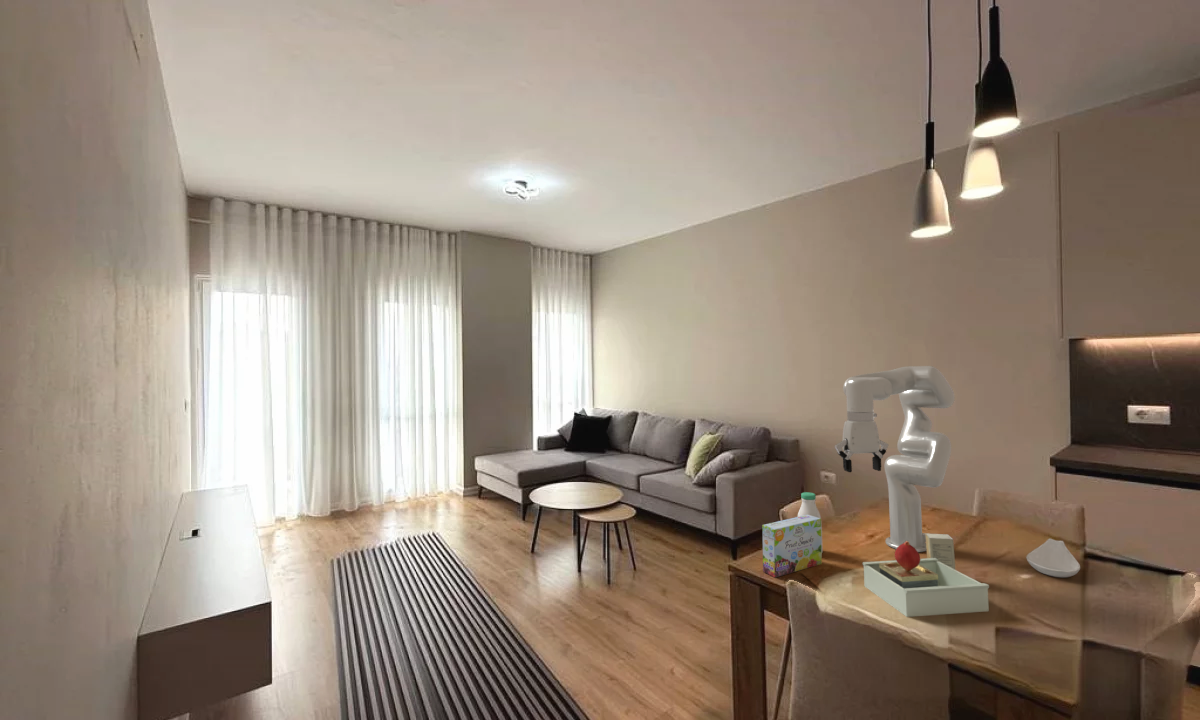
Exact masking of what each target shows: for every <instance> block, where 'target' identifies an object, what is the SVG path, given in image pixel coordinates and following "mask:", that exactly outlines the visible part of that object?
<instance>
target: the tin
mask: <svg viewBox="0 0 1200 720" xmlns="http://www.w3.org/2000/svg"><path fill="white" fill-rule="evenodd" d="M879 568H880V573H881V574H882V575H884V576H885V577H887V578H888V579H890V580H891V581H893V582H895V583H896V584H898V585H899V586H901V587H902V588H904V589H905V588H920V587H935V586H938V574H936V573H934V572H932V571H931V570H929V569H927V568H925V567H923V566H922V565H920V564H918V566H916V567H915V568H913V569H912V570H911V571H907V570H905V569H904V568H903V567H902V566H901V565H900V564H899V563H898V562H887V563H879Z"/></svg>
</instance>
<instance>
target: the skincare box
mask: <svg viewBox="0 0 1200 720" xmlns="http://www.w3.org/2000/svg"><path fill="white" fill-rule="evenodd" d="M925 534H926V549H927V551H926V558H936V559H938V561H939V562H941V563H943V564H945V565H947V566H949V567H951V568H953V569H955V570H956V561H955V545H954V543H955V542H954V538H952V536H950V535H949V534H945V533H943V534H942V533H927V532H926V533H925Z"/></svg>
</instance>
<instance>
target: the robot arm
mask: <svg viewBox="0 0 1200 720" xmlns="http://www.w3.org/2000/svg"><path fill="white" fill-rule="evenodd" d="M842 391H843V393H844V396H846V419H847V420H845V421H844V423H843V429H842V440H841V441H840V442H838V443H837V444H835V445H834V448H835V450H836V454H838V455H839V456H840V457H841V459H842V466H843V470H844V471H845V472H847V473H852V472H853V471H852V470H853V468H852V467H853V465H852V464H853V463H852V460H851V457H852V456H853V455H854V454H855V455H856V454H871V455H873V456H872V457H871V458H872V459H871V461H872V469H873V470H875V471H878V472H881V471H882V459H883V458H884V455H885V454H886V453H887V450H888V447H889V443H887V442H886V441H883V440H881V439H880V435H879V429H878V425H877V422H876V421H875V418H877V417H878V414H877V413H876V412H874V411H875V410H874V401H885V400H887V399H889V398H890V397H891V396H894V395H898V396H899V397H898V398H899V402H900V405H901V409H902V412H903V415H904V421H903V425H902V427H901V431H900V434H899V437H898V440H897V444H896V445H897V446H896V447H897V450H898V452H899V453H900V454H893V455H890V456H888V457H887V458H886V459H885V460H884V473H885V477H886V481H887V489H888V505H889V507H888V509H889V510H888V512H889V532H890V533H889V534H890V536H888V537H886V538H885V544H886V545H887V546H888V547H890V548H891V549H895V550H896V549H897V548H898V547H899V546H900V545H901V544H903V543H905V542H906V541H908V542H909V544H910V545H911V546H913V547H914V548H915V549H916V550H917V552H918V553H922V552H924V553H925V552H927V549H926V533H925V532H924V533H923V521H922V498H921V494H920V492H919V491H918V489H917V487H916V486H919V487H920V486H921V487H927V488H932V489H933V488H939V487H940V486H941V485H942V484H943V482H944V480H945V479H944V478H945V475H946V472H947V469H948V465H949V462H950V458H951V454H952V443H951V439H950V438H949V436H947V434H946V433H943V432H937V431H932V426H933V423H932V420H931V418H930V417H929V416H928V414H927V413H926V412H925V411H924V410H923V409H922V408H925V409H948V408H949V407H952V406H953V404H954V403H955V399H956V397H955V396H956V395H955V392H954V389H953V388H952V386H951V385H950V383H949V381H948V380H947V379H946V377H945V375H944V374H943V373H942V372H941V371H940V370H939V369H938V368H936V366H935V367H934V366H932V365H918V366H917V365H916V366H915V365H913V366H912V365H909V366H901V367H897V368H894V369H890V370H883V371H876V372H871V373H864V374H858V375H854V376H850V377H848V378H847V379H846V380H845V381H844V383H843V387H842Z"/></svg>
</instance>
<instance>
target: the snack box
mask: <svg viewBox="0 0 1200 720" xmlns="http://www.w3.org/2000/svg"><path fill="white" fill-rule="evenodd" d="M821 524H822V517H821V518H817V517H814V516H811V515H804V516H800V517H798V516H795V517H791V518H787V519H783V520H778V521H775V522H769V523H766V524H762V525H761V526H762V527H761V528H762V572H763V573H765V574H767V575H769V576H770V577H773V578H777V577H782V576H785V575H788V574H791V573H795V572H798V571H802V570H805V569H808V568H812V567H815V566H819V565H822V562H823V560H822V559H823V558H822V553H823V552H821Z"/></svg>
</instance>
